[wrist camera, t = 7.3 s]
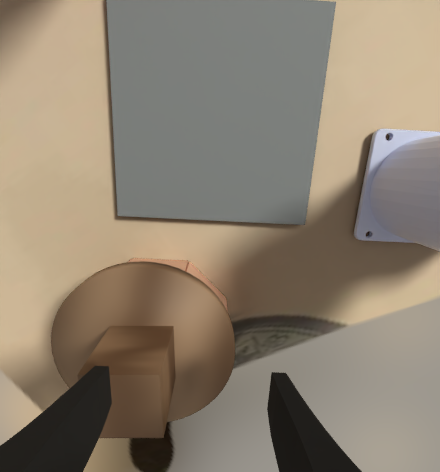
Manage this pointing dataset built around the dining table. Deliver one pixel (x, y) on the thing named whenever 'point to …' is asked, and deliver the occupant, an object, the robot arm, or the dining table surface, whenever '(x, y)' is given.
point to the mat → (217, 106)
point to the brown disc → (146, 344)
